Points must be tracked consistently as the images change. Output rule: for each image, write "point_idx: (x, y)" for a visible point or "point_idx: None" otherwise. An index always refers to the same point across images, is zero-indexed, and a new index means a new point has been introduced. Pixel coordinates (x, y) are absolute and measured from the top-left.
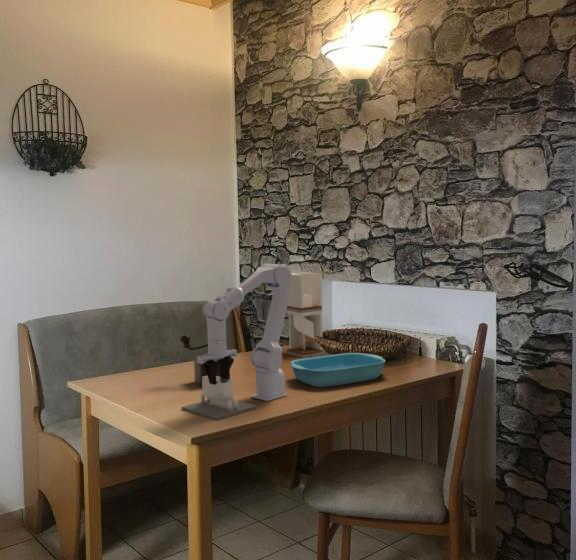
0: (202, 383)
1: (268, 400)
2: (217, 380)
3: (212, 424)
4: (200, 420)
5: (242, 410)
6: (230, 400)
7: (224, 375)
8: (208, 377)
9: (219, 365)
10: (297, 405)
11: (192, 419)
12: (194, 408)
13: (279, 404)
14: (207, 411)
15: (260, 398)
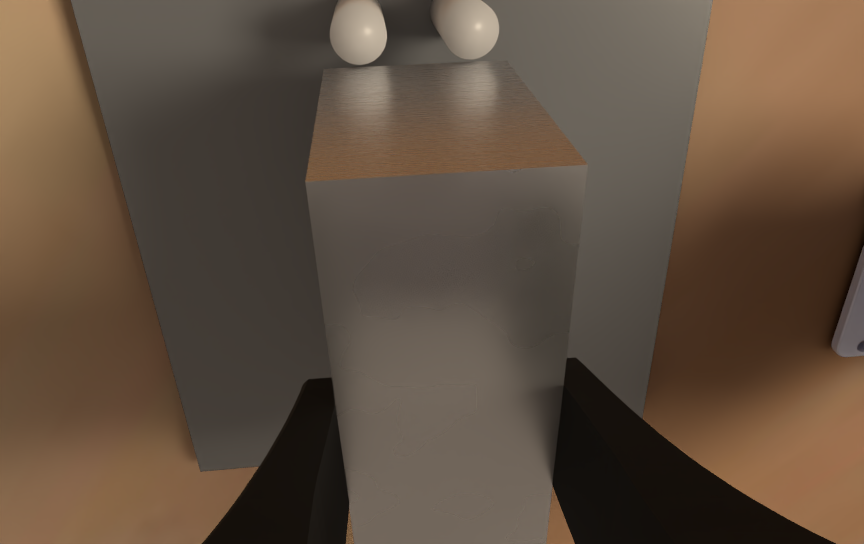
0: (313, 138)
1: (843, 353)
2: (390, 490)
3: (126, 498)
4: (86, 379)
5: None
6: (636, 159)
7: (572, 491)
8: (277, 447)
9: (660, 526)
10: (832, 528)
11: (32, 315)
12: (163, 118)
13: (800, 449)
14: (225, 298)
15: (856, 284)
